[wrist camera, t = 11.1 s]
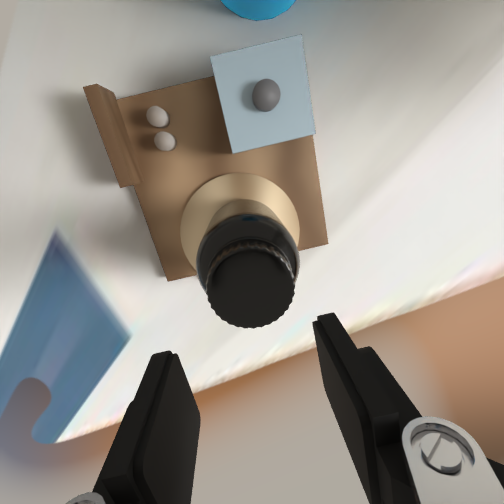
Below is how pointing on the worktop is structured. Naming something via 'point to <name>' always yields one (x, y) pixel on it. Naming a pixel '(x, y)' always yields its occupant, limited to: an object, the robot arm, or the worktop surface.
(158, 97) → the board
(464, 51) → the worktop surface
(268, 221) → the supplement bottle
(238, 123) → the cover
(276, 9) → the mug
